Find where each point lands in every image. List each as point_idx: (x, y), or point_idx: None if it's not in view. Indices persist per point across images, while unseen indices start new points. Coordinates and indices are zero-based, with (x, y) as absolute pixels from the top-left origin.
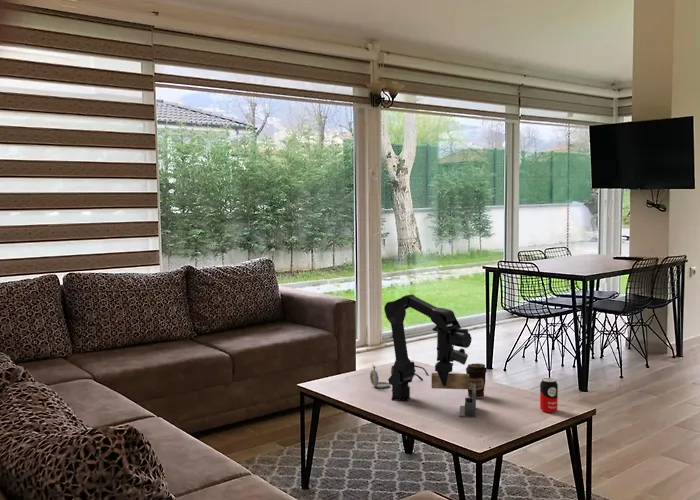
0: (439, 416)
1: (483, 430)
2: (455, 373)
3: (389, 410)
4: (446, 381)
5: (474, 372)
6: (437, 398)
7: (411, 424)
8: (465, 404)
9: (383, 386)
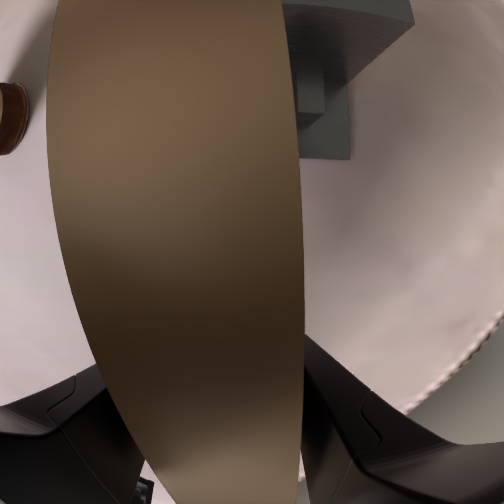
0: (352, 272)
1: (490, 73)
2: (64, 262)
3: None
4: (334, 363)
5: None
6: (64, 294)
7: (440, 365)
8: (322, 109)
9: None
